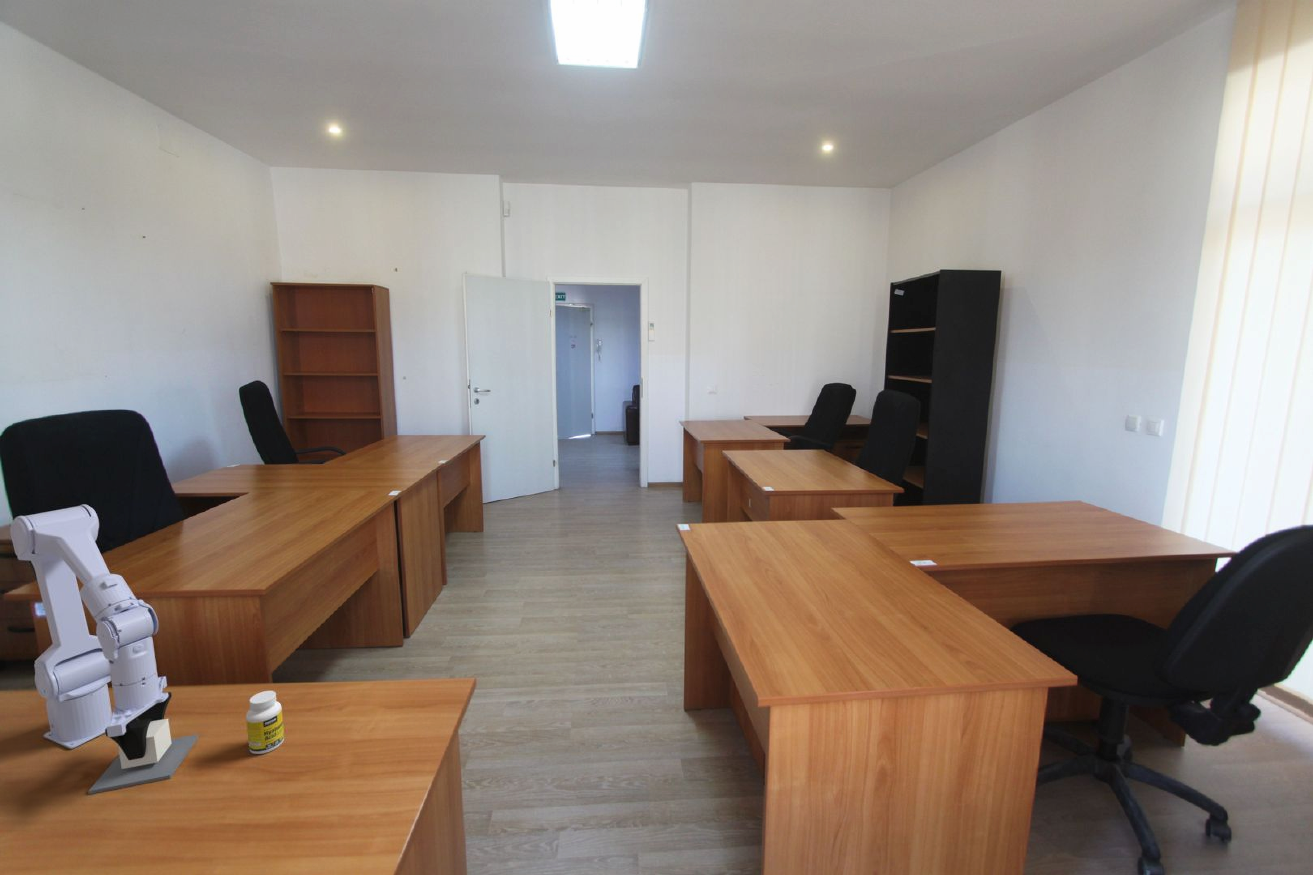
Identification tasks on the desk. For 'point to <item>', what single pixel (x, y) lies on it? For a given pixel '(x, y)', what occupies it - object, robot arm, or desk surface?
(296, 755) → the desk surface
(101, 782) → the mat
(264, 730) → the supplement bottle
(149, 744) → the cube
